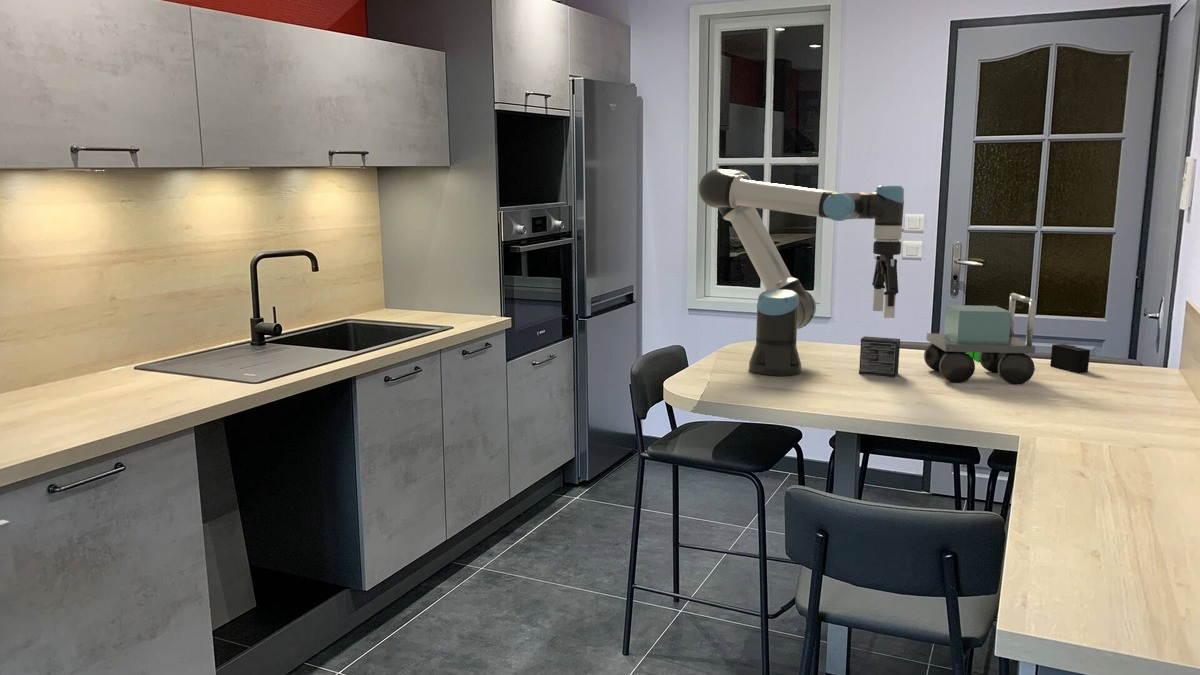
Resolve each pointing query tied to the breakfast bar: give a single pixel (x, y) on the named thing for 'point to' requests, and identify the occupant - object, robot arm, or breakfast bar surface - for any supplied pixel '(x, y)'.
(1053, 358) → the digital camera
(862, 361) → the small box
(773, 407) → the breakfast bar surface
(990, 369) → the trolley
